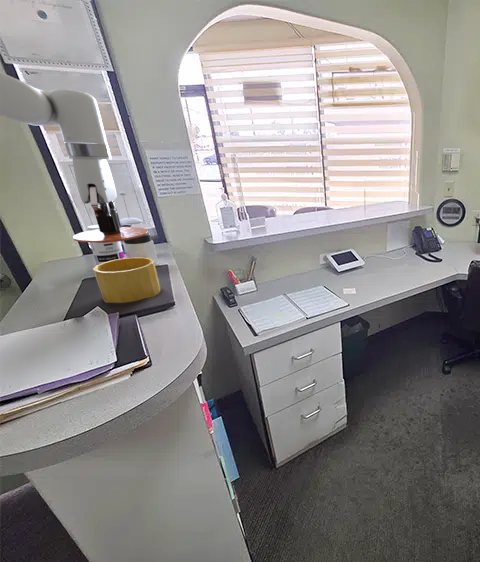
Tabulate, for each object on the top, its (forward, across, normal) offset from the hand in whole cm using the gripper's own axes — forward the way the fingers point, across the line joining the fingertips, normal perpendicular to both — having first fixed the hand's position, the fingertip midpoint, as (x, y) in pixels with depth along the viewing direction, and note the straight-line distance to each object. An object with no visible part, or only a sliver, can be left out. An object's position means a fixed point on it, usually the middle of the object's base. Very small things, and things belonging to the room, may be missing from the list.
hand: (111, 229), depth 78 cm
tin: (+21, -7, -1) cm, 22 cm away
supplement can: (+21, -38, -13) cm, 46 cm away
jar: (+21, -35, -3) cm, 41 cm away
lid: (+1, 0, 0) cm, 1 cm away
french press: (+21, -51, -8) cm, 56 cm away
